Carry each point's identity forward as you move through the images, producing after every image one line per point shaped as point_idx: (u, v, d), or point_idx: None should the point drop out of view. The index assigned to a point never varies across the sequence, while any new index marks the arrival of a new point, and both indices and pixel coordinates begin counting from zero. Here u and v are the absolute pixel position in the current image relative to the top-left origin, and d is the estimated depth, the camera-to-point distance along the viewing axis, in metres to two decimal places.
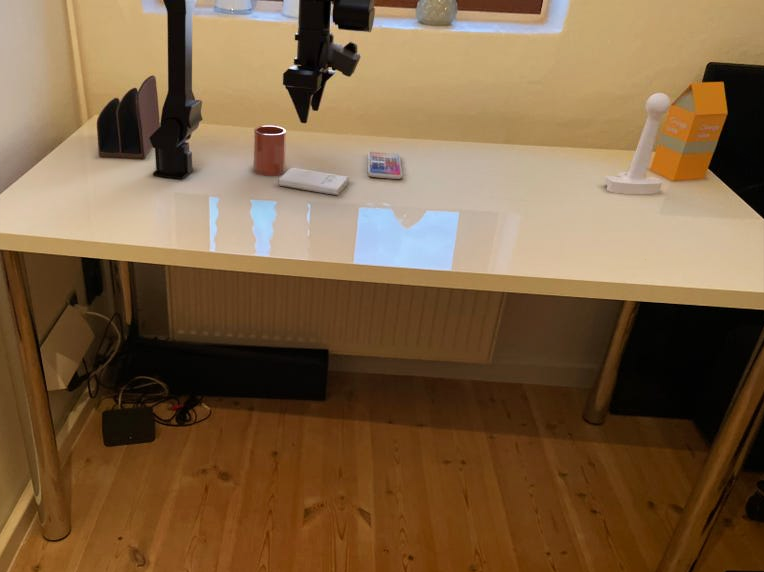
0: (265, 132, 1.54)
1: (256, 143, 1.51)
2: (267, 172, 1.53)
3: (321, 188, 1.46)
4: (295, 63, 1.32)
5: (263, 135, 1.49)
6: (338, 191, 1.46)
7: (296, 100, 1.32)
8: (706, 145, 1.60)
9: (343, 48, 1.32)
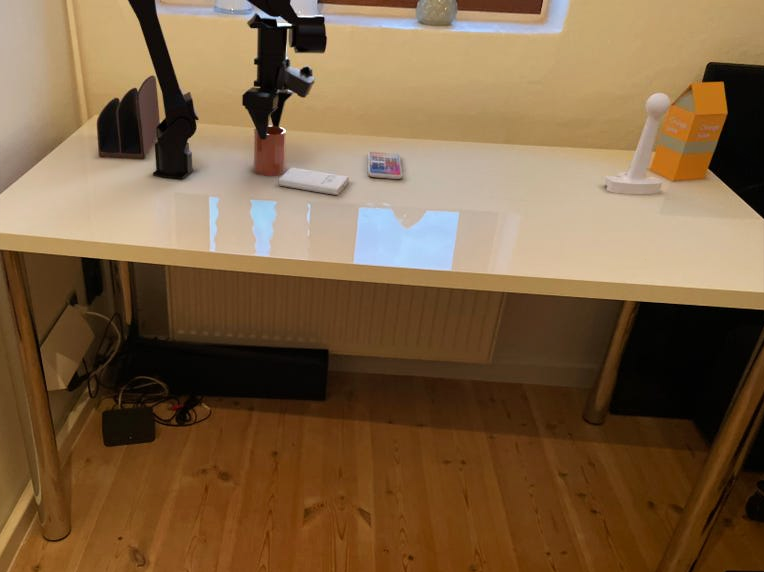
0: None
1: (256, 143, 1.51)
2: (267, 172, 1.53)
3: (321, 188, 1.46)
4: (255, 85, 1.45)
5: None
6: (338, 191, 1.46)
7: (255, 119, 1.45)
8: (706, 145, 1.60)
9: (299, 72, 1.45)
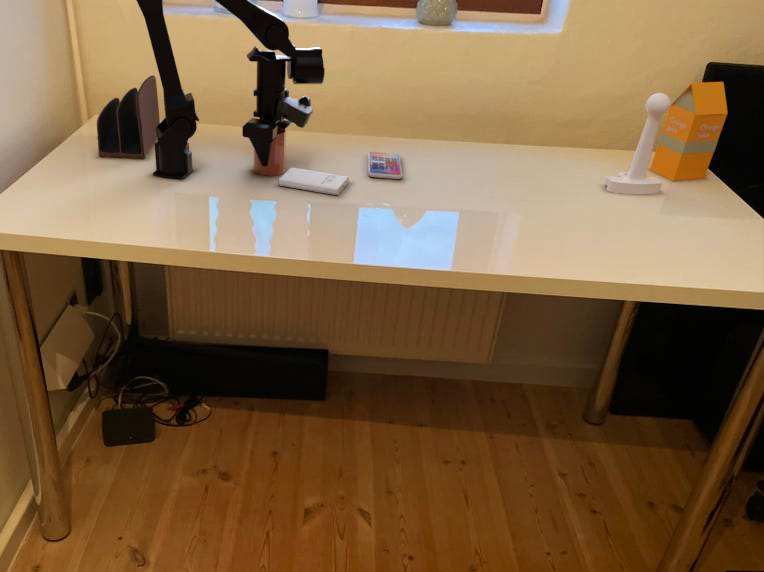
0: None
1: None
2: (267, 172, 1.53)
3: (321, 188, 1.46)
4: (254, 115, 1.48)
5: None
6: (338, 191, 1.46)
7: (257, 147, 1.49)
8: (706, 145, 1.60)
9: (297, 102, 1.48)
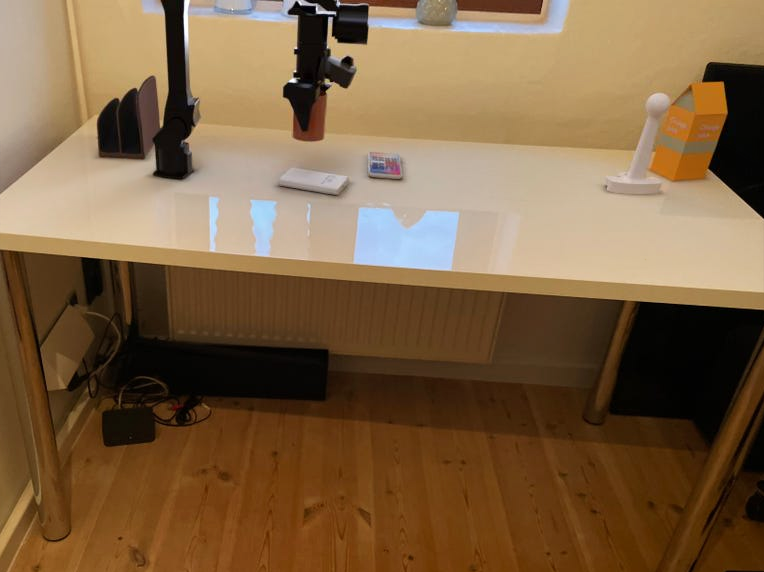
0: None
1: None
2: (307, 138, 1.43)
3: (321, 188, 1.46)
4: (294, 76, 1.38)
5: None
6: (338, 191, 1.46)
7: (297, 110, 1.39)
8: (706, 145, 1.60)
9: (340, 61, 1.38)
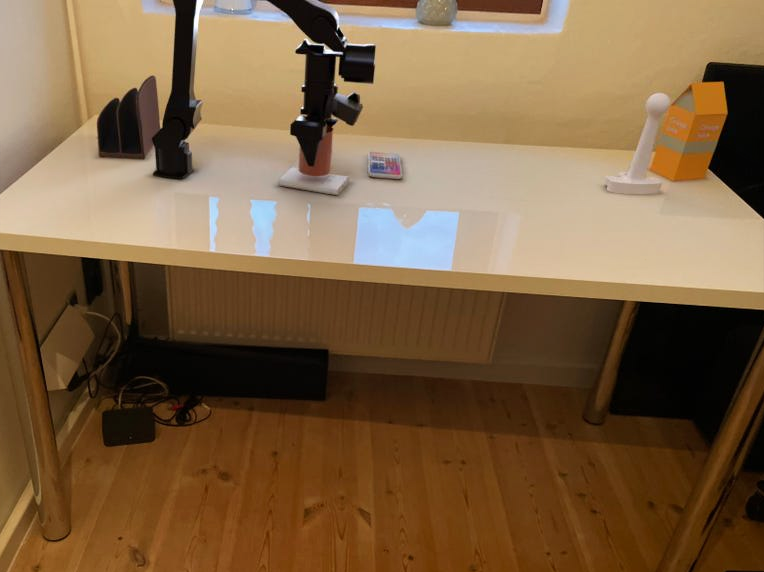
0: None
1: None
2: (313, 172, 1.46)
3: (321, 188, 1.46)
4: (301, 113, 1.41)
5: None
6: (338, 191, 1.46)
7: (304, 146, 1.41)
8: (706, 145, 1.60)
9: (347, 99, 1.41)
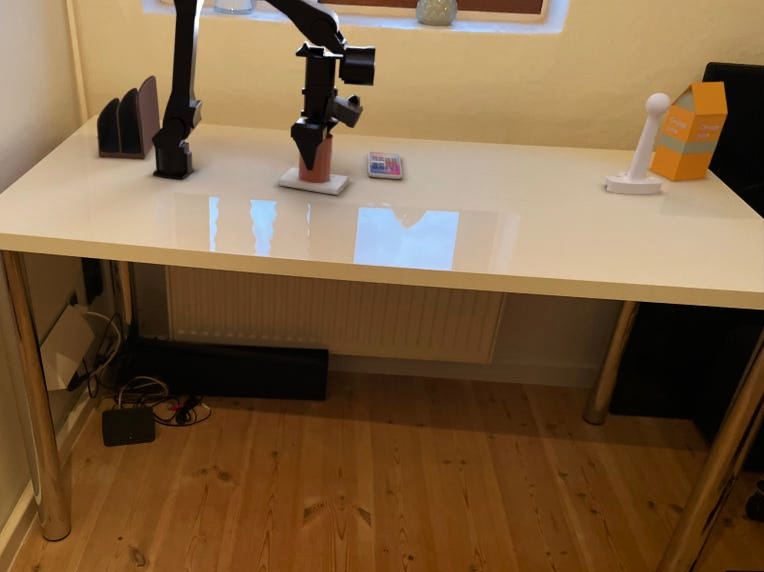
0: None
1: None
2: (313, 179, 1.46)
3: (321, 188, 1.46)
4: (302, 115, 1.41)
5: None
6: (338, 191, 1.46)
7: (303, 150, 1.41)
8: (706, 145, 1.60)
9: (347, 101, 1.41)
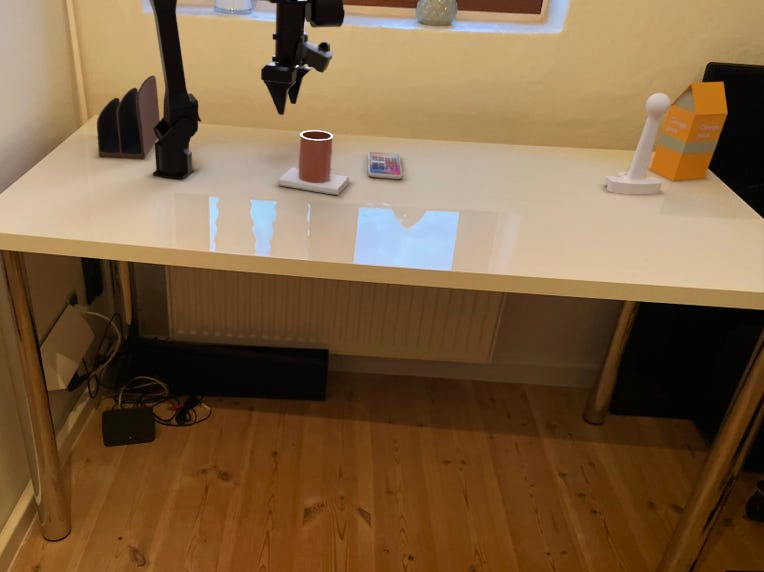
0: (310, 137, 1.48)
1: (302, 149, 1.44)
2: (313, 179, 1.46)
3: (321, 188, 1.46)
4: (273, 60, 1.46)
5: (310, 140, 1.42)
6: (338, 191, 1.46)
7: (274, 93, 1.46)
8: (706, 145, 1.60)
9: (317, 47, 1.46)
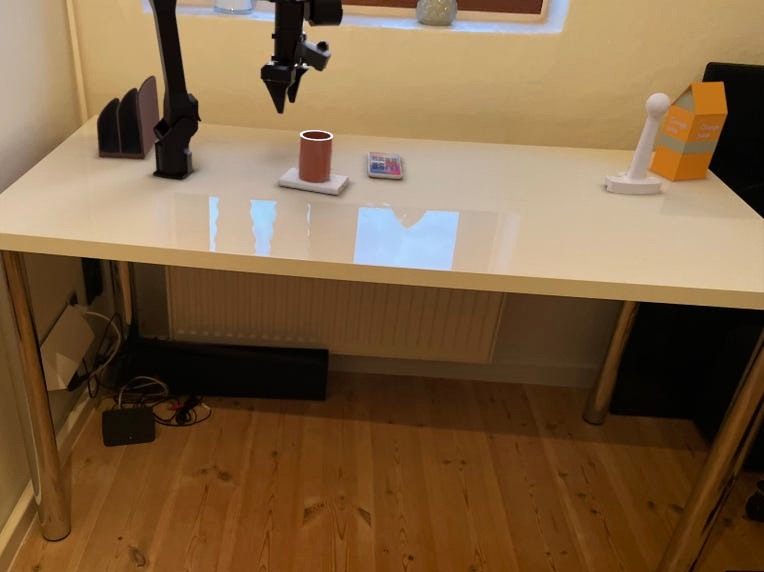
0: (310, 137, 1.48)
1: (302, 149, 1.44)
2: (313, 179, 1.46)
3: (321, 188, 1.46)
4: (272, 59, 1.47)
5: (310, 140, 1.42)
6: (338, 191, 1.46)
7: (273, 93, 1.46)
8: (706, 145, 1.60)
9: (315, 46, 1.47)
